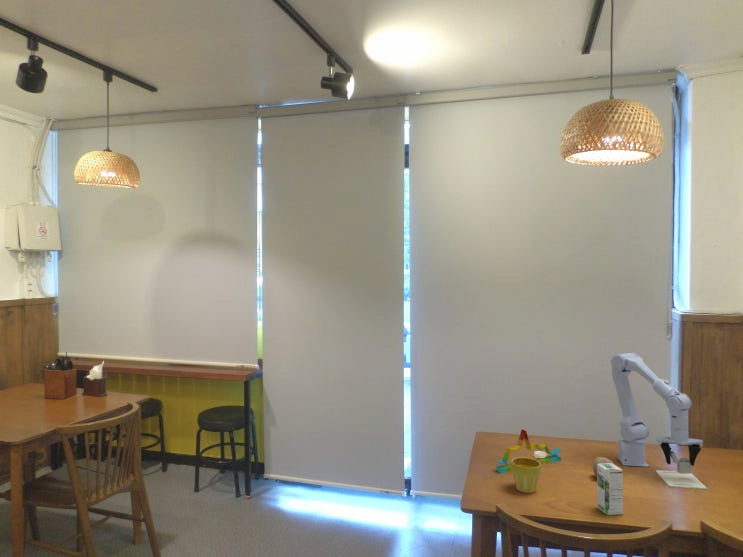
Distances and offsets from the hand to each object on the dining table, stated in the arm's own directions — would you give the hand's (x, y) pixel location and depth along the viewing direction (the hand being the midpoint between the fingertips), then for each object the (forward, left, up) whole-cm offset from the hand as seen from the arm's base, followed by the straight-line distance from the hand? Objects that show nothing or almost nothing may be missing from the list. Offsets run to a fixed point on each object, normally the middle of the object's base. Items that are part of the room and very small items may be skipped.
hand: (679, 464), depth 181 cm
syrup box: (-31, -30, -6) cm, 44 cm away
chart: (-53, +5, -6) cm, 54 cm away
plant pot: (-56, -18, -6) cm, 59 cm away
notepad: (0, 0, -6) cm, 6 cm away
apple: (-27, -4, -6) cm, 28 cm away
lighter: (0, 0, -3) cm, 4 cm away
